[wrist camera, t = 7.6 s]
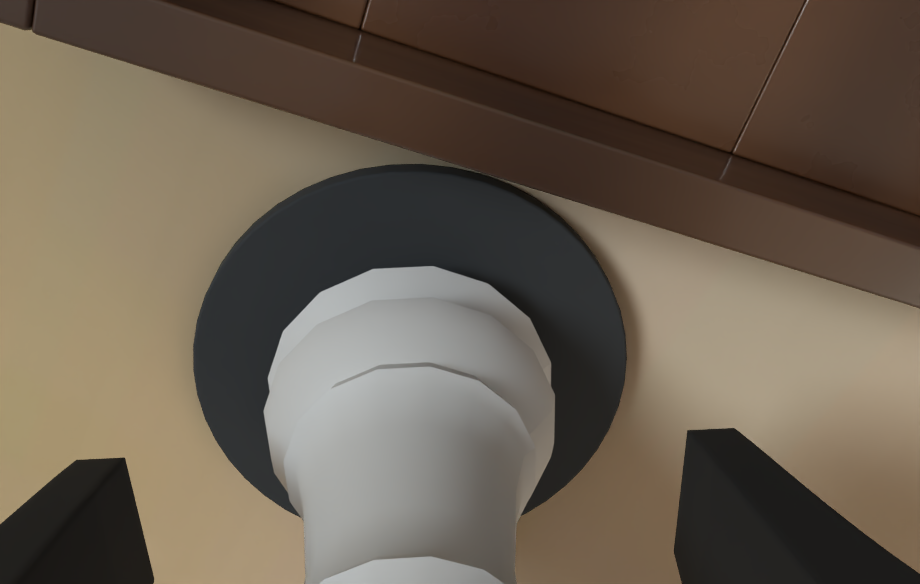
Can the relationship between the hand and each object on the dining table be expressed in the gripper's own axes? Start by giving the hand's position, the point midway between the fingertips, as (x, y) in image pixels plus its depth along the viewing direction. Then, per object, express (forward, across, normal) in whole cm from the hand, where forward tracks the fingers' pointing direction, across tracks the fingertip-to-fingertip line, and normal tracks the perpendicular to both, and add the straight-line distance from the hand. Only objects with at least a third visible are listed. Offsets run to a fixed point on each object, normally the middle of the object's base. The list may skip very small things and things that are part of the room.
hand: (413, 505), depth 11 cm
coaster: (+3, 0, 0) cm, 3 cm away
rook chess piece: (+3, 0, 0) cm, 3 cm away
